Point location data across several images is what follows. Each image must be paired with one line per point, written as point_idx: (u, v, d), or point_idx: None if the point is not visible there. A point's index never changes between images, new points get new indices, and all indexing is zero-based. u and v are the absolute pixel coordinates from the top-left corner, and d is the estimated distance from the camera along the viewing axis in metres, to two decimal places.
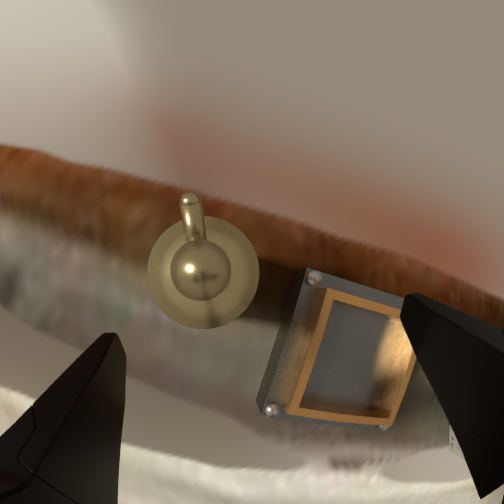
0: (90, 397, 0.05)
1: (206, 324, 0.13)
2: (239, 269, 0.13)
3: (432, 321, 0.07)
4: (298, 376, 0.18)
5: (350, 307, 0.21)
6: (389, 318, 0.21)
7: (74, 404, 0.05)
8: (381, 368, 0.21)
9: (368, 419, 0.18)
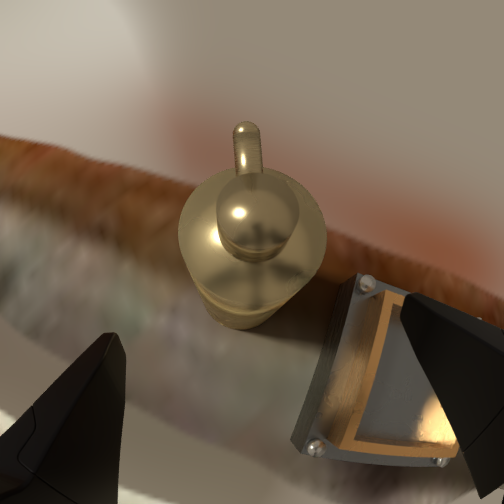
0: (90, 397, 0.05)
1: (256, 297, 0.09)
2: (301, 228, 0.10)
3: (432, 321, 0.07)
4: (353, 400, 0.13)
5: None
6: None
7: (74, 404, 0.05)
8: None
9: (431, 451, 0.12)
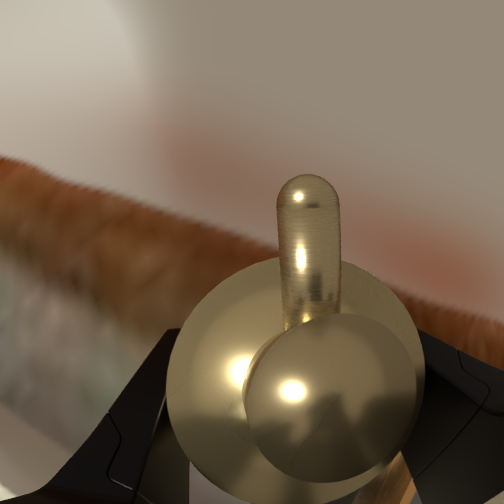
0: None
1: (311, 499, 0.04)
2: None
3: None
4: (394, 503, 0.08)
5: None
6: None
7: (160, 406, 0.05)
8: None
9: None
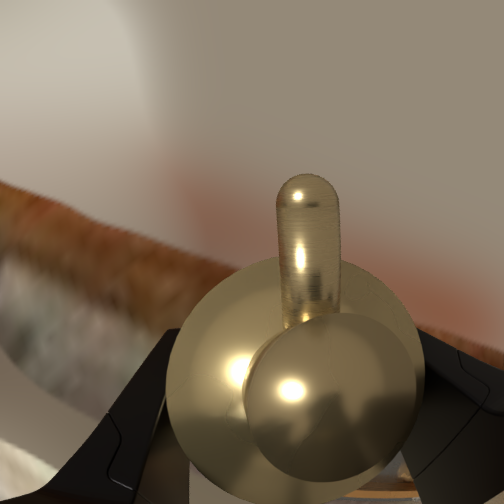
0: None
1: (311, 498, 0.04)
2: None
3: None
4: None
5: None
6: None
7: (160, 406, 0.05)
8: None
9: (405, 493, 0.13)
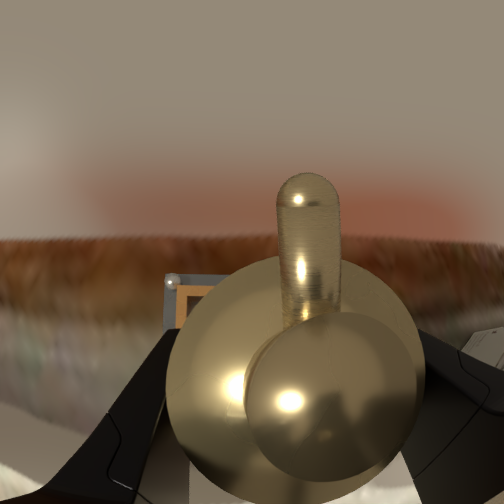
0: None
1: (311, 498, 0.04)
2: None
3: None
4: None
5: None
6: None
7: (160, 406, 0.05)
8: None
9: None
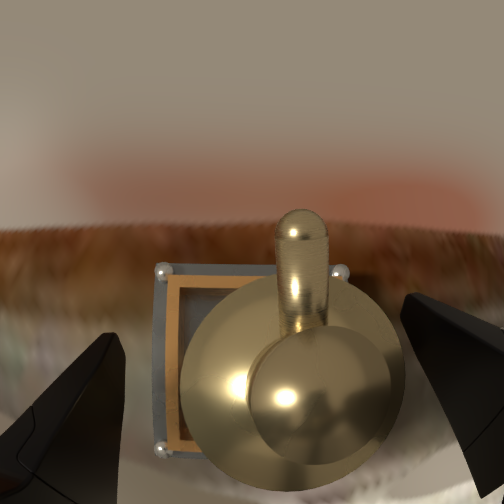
0: (89, 397, 0.05)
1: (304, 483, 0.05)
2: None
3: (432, 321, 0.07)
4: (167, 399, 0.13)
5: (226, 296, 0.16)
6: None
7: (73, 404, 0.05)
8: None
9: None
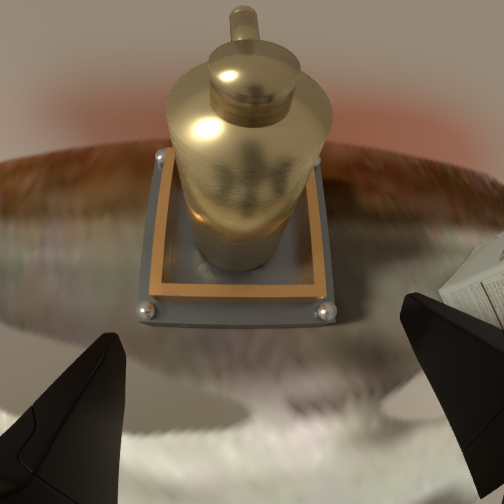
0: (90, 397, 0.05)
1: (253, 159, 0.07)
2: (304, 102, 0.08)
3: (432, 321, 0.07)
4: (154, 246, 0.15)
5: None
6: None
7: (74, 404, 0.05)
8: (285, 234, 0.18)
9: (278, 289, 0.15)
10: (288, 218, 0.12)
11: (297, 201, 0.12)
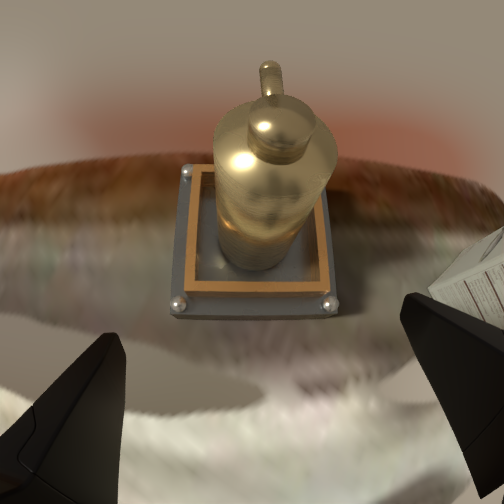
0: (90, 397, 0.05)
1: (281, 190, 0.11)
2: (316, 143, 0.11)
3: (432, 321, 0.07)
4: (187, 249, 0.18)
5: None
6: None
7: (74, 404, 0.05)
8: (295, 239, 0.21)
9: (291, 285, 0.18)
10: (300, 228, 0.16)
11: (308, 215, 0.15)
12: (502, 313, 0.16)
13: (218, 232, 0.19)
